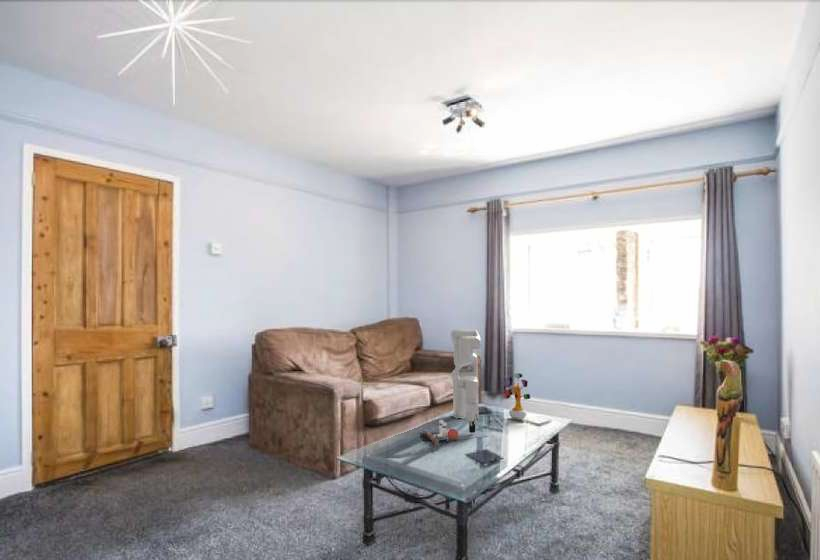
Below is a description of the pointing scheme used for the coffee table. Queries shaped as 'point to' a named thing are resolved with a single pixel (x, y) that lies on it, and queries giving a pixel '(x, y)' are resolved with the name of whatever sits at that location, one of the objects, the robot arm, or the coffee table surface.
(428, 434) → the back wall
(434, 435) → the pin front
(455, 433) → the ball
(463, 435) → the lane
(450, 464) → the coffee table surface
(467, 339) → the robot arm
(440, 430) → the pin
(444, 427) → the pin
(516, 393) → the decorative sculpture
